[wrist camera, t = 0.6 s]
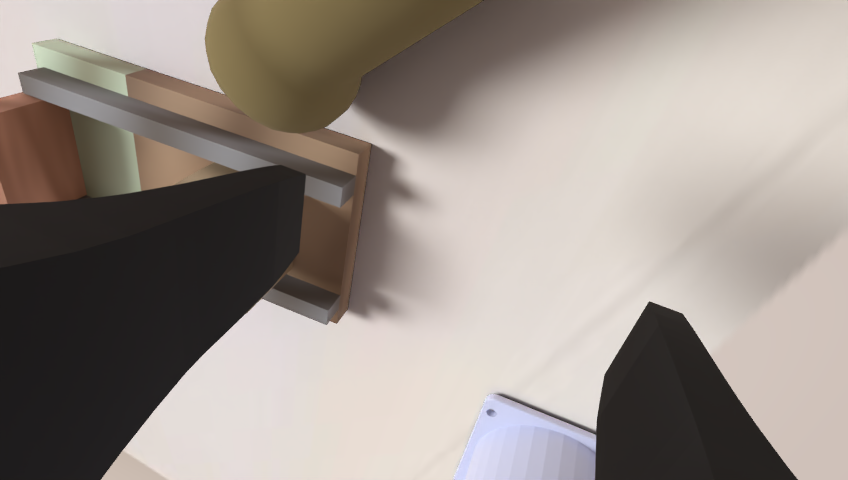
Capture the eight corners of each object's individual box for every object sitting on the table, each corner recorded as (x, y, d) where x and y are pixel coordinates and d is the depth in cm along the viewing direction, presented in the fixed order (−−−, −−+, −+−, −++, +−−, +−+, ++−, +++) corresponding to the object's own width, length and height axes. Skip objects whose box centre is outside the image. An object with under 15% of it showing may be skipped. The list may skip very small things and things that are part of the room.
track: (371, 144, 21) (309, 194, 17) (347, 309, 26) (295, 378, 22) (56, 38, 24) (-63, 60, 20) (91, 206, 29) (2, 251, 25)
